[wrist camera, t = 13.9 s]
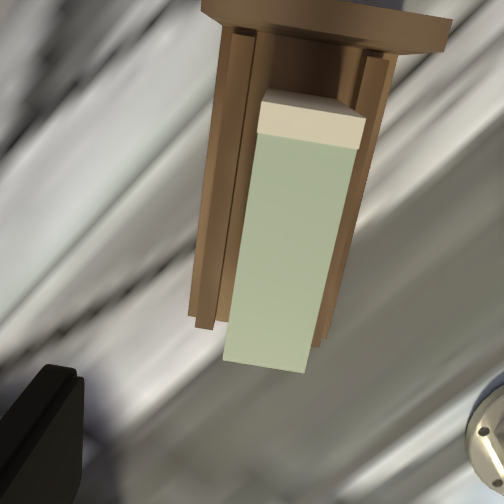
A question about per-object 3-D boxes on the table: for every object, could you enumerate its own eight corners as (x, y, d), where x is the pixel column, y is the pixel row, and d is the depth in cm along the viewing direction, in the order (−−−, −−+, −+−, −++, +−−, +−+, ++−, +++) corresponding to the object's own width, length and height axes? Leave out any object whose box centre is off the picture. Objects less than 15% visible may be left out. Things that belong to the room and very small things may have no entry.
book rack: (397, 33, 28) (452, 19, 19) (325, 327, 35) (340, 416, 26) (228, 4, 28) (203, -23, 19) (191, 305, 35) (161, 387, 26)
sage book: (337, 99, 28) (365, 118, 18) (298, 283, 32) (305, 373, 23) (267, 87, 28) (261, 101, 18) (238, 273, 32) (221, 360, 23)
